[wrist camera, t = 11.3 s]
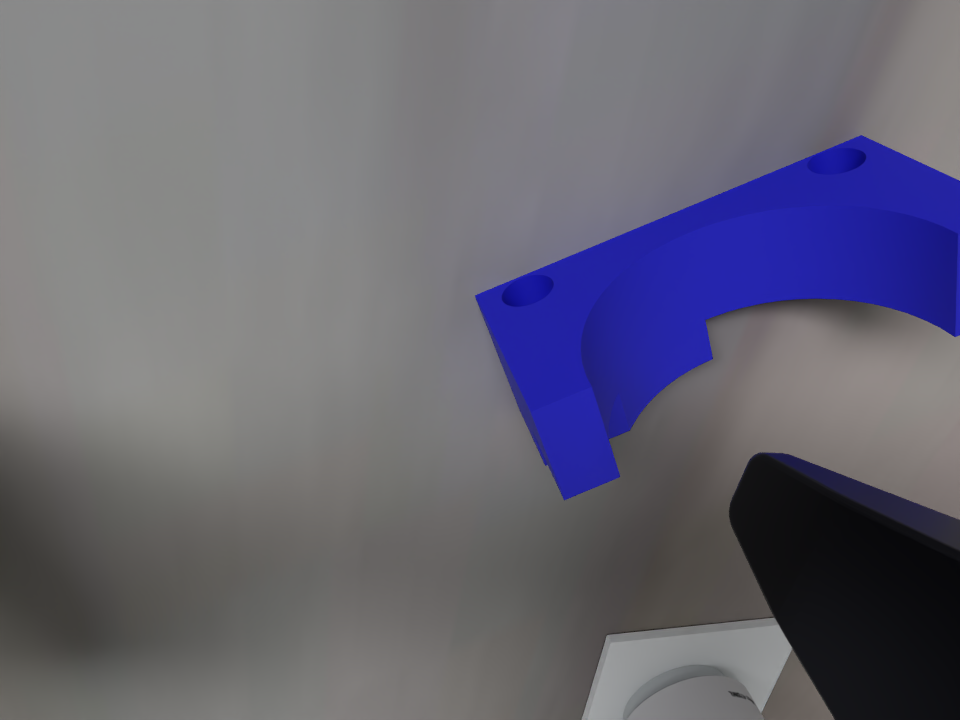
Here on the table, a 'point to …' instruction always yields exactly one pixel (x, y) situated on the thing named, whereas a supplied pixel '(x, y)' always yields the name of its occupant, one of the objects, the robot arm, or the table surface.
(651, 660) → the white square pad
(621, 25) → the table surface
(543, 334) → the cable clip
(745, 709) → the energy drink can
